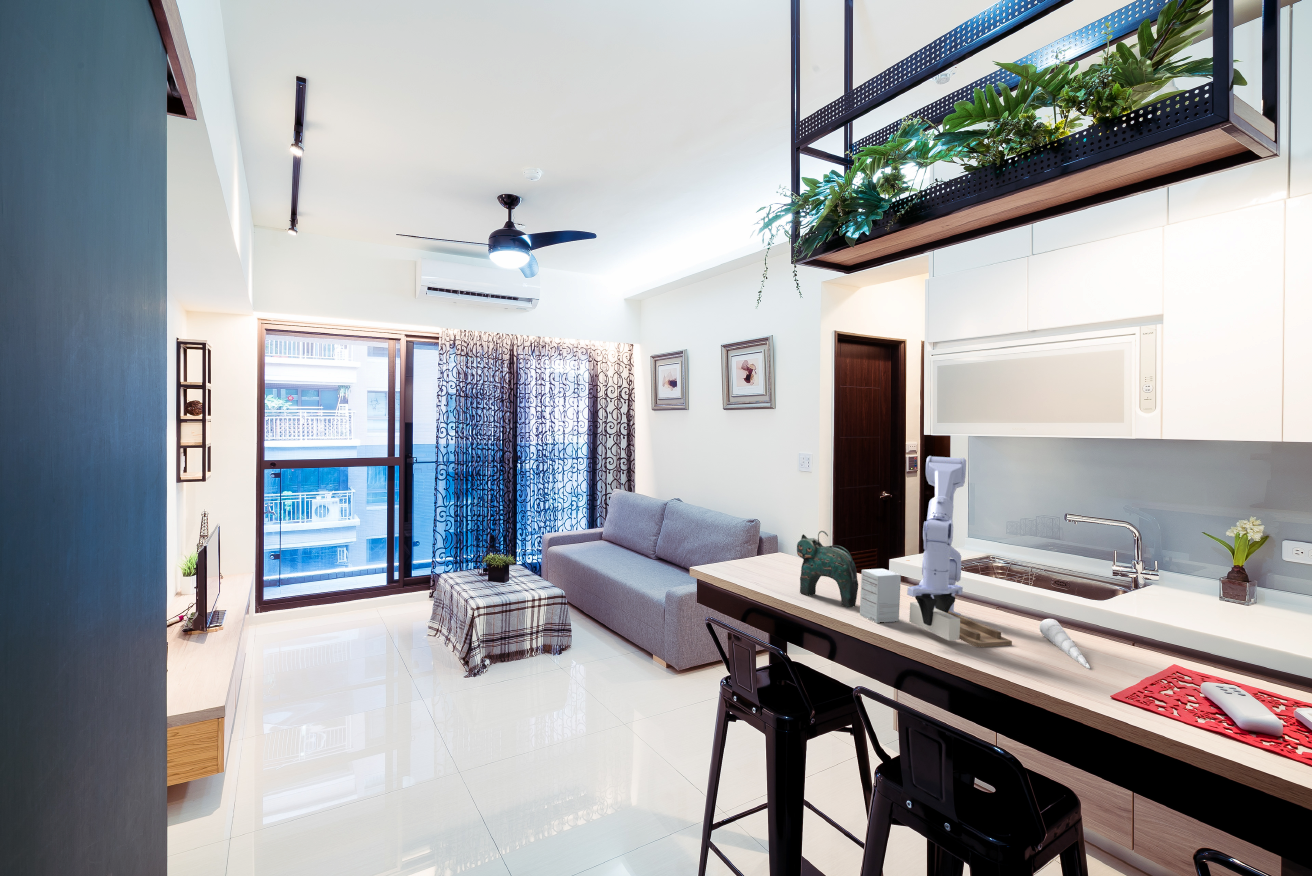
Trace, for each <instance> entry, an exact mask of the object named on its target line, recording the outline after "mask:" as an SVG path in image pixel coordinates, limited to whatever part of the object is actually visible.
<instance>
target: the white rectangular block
mask: <svg viewBox="0 0 1312 876" xmlns="http://www.w3.org/2000/svg"><path fill="white" fill-rule="evenodd" d="M908 622H909V623H911V624H913V625H915V626H917V627H919V628H922V629H924V630H926V631H928V632H930V633H932V634H934V635H936V636H938V637H940V638H942V639H944V640H947V641H959V640H960V639H959V635H960V618H957V617H955V616H953V615H950V614H948V613H946V612H943V611H941V610H938V609H936V608H934V611H933V619H932V625H931V626H928V625H926V624H924V623H923V618H922V613H921V610H920V607H919V604H918V602H917V601H911V602H909V621H908Z"/></svg>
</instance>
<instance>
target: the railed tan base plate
mask: <svg viewBox="0 0 1312 876" xmlns="http://www.w3.org/2000/svg"><path fill="white" fill-rule="evenodd" d="M948 614H950V615H953V616H955V617H957V618H960V635H959V640H960V639H961V641H962V640H963V642H965V643H967V644H969V645H971V646H973V647H976V648H988V647H1002V646H1003V647H1004V646H1012V645H1013V640H1011V639H1008V638H1006V637H1004V636H1002V631H999V630H996V629H995V628H992V627H990V626H987V625H985V624H982V623H979V622H977V621H975V620H973V619H970V618H968V617H965V616H962V615H961V616H960V615H958V614H956V613H953V612H951V611H948Z"/></svg>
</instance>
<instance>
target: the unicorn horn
mask: <svg viewBox="0 0 1312 876" xmlns="http://www.w3.org/2000/svg"><path fill="white" fill-rule="evenodd" d="M1038 629H1039V632H1040V633H1041V635H1042V636H1043V635H1044V636H1045V638H1046V639H1047V638H1048V639H1049V640H1048V639H1047V640H1048V641H1050V642H1051V644H1052V643H1054V644H1053V645H1055V647H1057V646H1058V647H1059V648H1058V647H1057V648H1058V649H1060V650H1061V651H1062V652H1063V653H1065V654H1067V656H1069V657H1070V658H1072V659H1073V660H1074V661H1076V662H1077V663H1079V664H1080V665H1082V666H1083V667H1085V668H1086V669H1090V670H1091V666H1090V665H1089V663H1088V661H1087V660H1086V657H1084V656H1083V653H1082V652H1081V651H1080V649H1079V648H1078V647H1077V645H1076V644H1075V642H1074V641H1073V640H1072V638H1071V637H1070V636H1069V634H1068V633H1067V632H1066V630H1065V629H1064V628H1063V627H1062V625H1061V624H1060V623H1059V622H1058V620H1056V619H1053V618H1046V619H1043V620H1042V621H1040V623H1039V628H1038ZM1044 636H1043V637H1044Z"/></svg>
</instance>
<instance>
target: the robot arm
mask: <svg viewBox="0 0 1312 876" xmlns="http://www.w3.org/2000/svg"><path fill="white" fill-rule="evenodd" d="M966 472H967V460H966V458H965V457H948V456H947V457H945V456H932V455H929V456H927V458H926V462H925V477H926V481H927V482H928V485H931V486H933V487H934V497H932V498H930V500H929V502H928V508H927V516H926V521H925V520H924V522H923V528H922V539H923V550H924V551H923V557H922V565H921V566H922V567H921V575H922V579H921V580H920V582H919V583H918V584H917V585H914V586H913V585H912V586H907V589H906V590H907V593H906V595H908V596H910V597H912V598H915V600H916V602H918V604H919V607H920V610H921V613H922V618H923V623H924V624H926V625H928V626H931V625H932V619H933V611H934V608H936V609H938V610H941V611H943V612H946V613H948V611H951V612H953V613H956V614H958V615H960V616H962V613H960V612H957V611H955V602H956V596H955V595H959V596H961V595H963V588H964V587H963V586H962V585H958V584H956V583H959V582H960V581H961V578H962V577H961V576H962V555H961V553H960V551H958V550H957V549H956V548H954V547H953V546H952V543H953V539H954V523H953V522H954V521H953V516H954V495H955V492H956V490H957V489H958V488H962V487H964V485H965V483H966Z"/></svg>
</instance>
